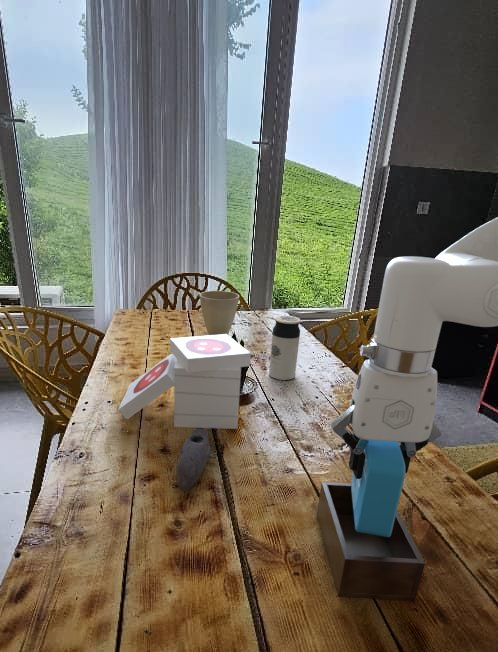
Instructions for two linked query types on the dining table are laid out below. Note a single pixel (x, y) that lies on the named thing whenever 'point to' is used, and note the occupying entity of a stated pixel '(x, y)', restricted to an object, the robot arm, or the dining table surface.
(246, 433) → the dining table surface
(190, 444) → the perforated stone tool
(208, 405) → the pizza boxes
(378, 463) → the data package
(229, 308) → the plant pot
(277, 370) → the travel mug
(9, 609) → the dining table surface
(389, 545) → the box
